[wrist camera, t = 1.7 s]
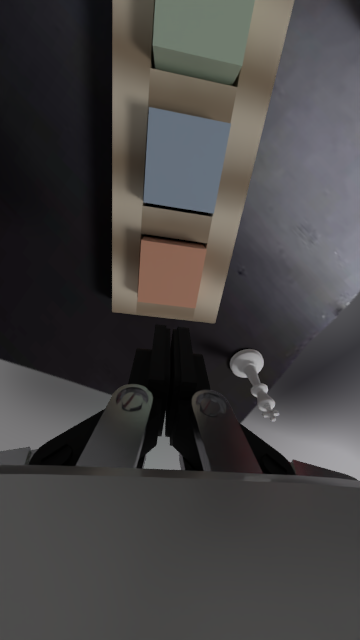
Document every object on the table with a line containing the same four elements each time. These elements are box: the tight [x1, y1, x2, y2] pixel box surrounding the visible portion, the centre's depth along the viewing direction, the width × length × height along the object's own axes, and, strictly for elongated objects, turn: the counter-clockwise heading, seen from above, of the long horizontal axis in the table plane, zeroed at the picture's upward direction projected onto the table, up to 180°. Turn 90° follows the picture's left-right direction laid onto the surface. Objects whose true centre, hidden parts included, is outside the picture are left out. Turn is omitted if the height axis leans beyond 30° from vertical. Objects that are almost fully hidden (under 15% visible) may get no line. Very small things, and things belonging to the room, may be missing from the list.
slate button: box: [143, 107, 231, 214], centre depth 18 cm, size 6×6×3 cm
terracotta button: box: [138, 236, 207, 308], centre depth 23 cm, size 6×6×3 cm
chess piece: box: [230, 349, 279, 422], centre depth 28 cm, size 5×5×10 cm
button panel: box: [112, 0, 294, 323], centre depth 20 cm, size 29×12×3 cm, turn 172°
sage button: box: [153, 0, 255, 86], centre depth 14 cm, size 6×6×3 cm
